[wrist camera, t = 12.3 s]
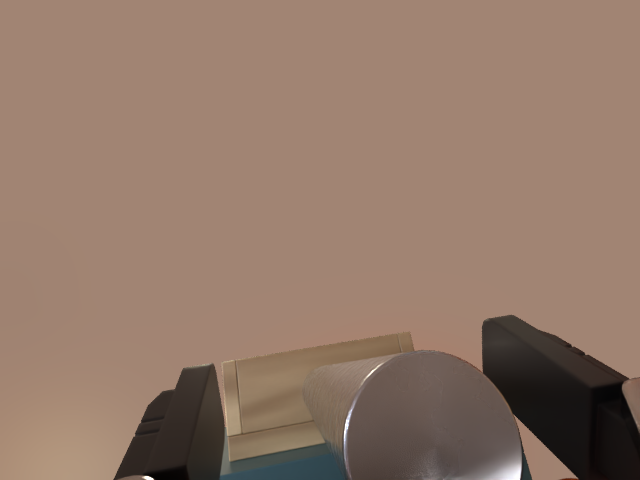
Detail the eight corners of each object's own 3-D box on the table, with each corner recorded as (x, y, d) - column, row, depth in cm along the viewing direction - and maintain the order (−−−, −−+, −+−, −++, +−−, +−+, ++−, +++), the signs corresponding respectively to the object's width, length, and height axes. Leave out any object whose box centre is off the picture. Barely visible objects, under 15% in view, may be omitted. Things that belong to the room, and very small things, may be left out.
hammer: (864, 578, 5) (696, 236, 7) (-14, 832, 4) (24, 334, 5) (381, 405, 33) (369, 344, 34) (250, 429, 31) (244, 365, 33)
